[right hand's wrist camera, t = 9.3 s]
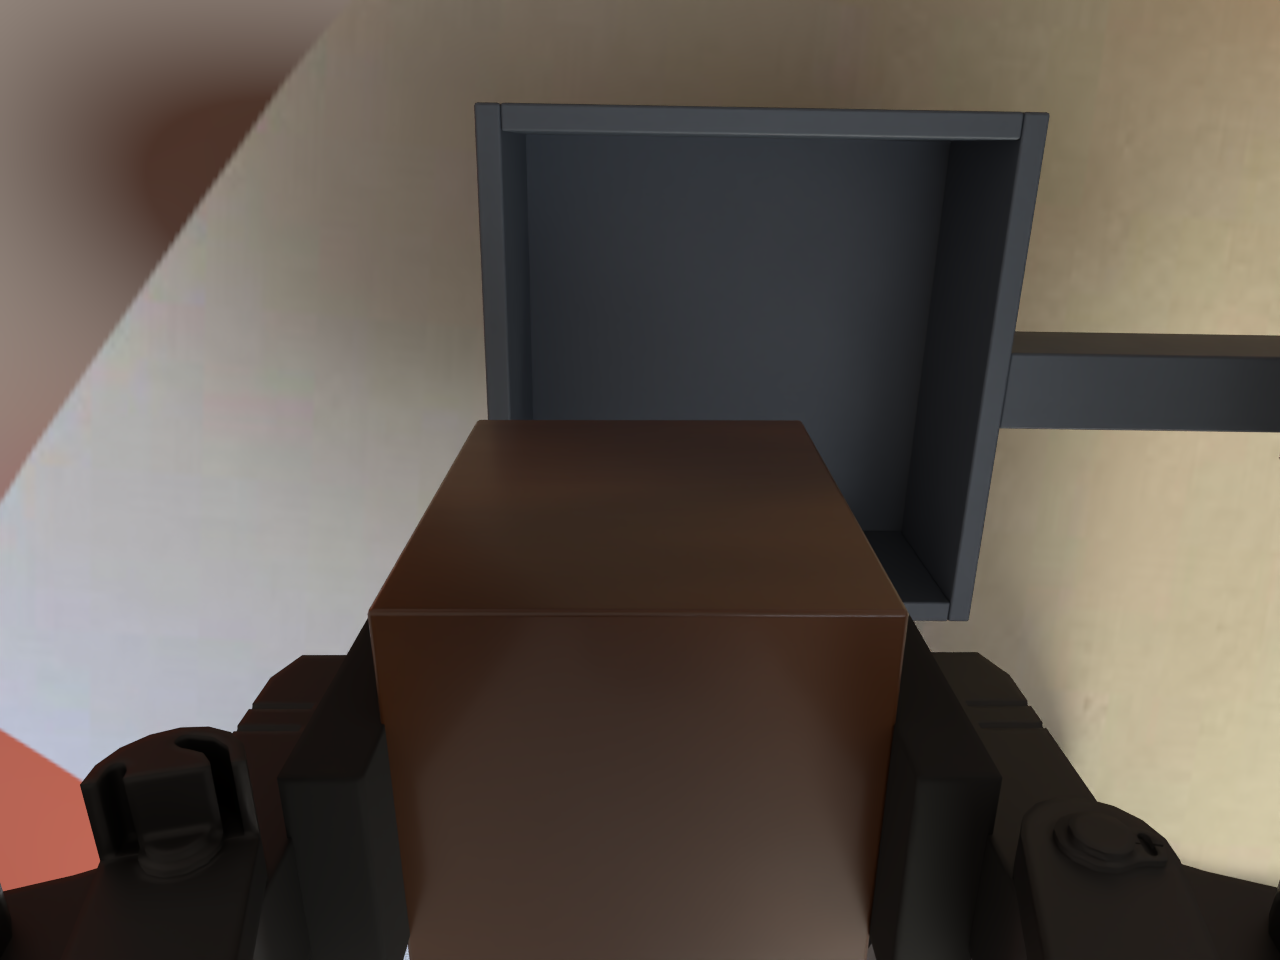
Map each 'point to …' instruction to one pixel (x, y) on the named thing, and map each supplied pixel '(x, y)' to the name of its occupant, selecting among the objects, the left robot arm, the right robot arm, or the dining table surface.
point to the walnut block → (638, 697)
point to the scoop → (817, 302)
